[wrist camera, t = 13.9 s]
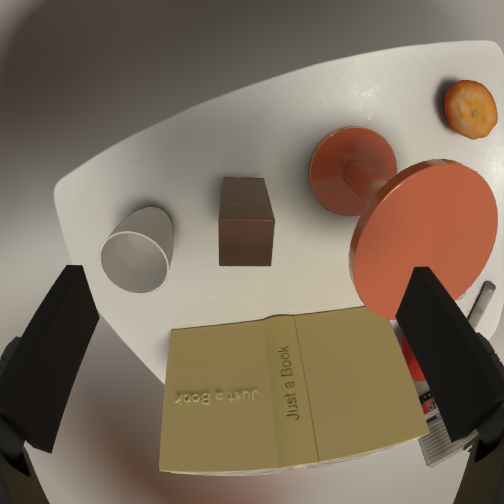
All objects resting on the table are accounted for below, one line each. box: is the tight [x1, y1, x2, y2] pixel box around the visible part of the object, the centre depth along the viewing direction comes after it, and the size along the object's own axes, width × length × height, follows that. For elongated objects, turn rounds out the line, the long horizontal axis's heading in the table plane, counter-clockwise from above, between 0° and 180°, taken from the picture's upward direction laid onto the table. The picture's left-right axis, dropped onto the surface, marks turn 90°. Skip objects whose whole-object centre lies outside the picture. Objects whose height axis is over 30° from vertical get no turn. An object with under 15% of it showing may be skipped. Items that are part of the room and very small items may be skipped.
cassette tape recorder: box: [413, 380, 478, 468], centre depth 50 cm, size 14×6×25 cm, turn 130°
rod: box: [468, 281, 496, 330], centre depth 51 cm, size 12×3×3 cm, turn 0°
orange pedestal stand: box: [309, 126, 498, 320], centre depth 29 cm, size 14×14×20 cm
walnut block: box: [218, 178, 275, 266], centre depth 34 cm, size 5×5×12 cm
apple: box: [402, 333, 425, 381], centre depth 49 cm, size 11×11×12 cm
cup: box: [99, 207, 174, 295], centre depth 36 cm, size 8×8×10 cm
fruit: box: [444, 80, 498, 139], centre depth 30 cm, size 8×8×8 cm
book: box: [159, 306, 430, 476], centre depth 42 cm, size 36×8×24 cm, turn 96°
